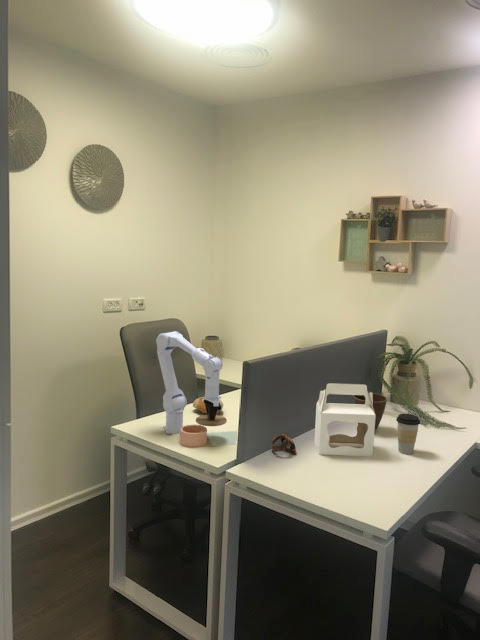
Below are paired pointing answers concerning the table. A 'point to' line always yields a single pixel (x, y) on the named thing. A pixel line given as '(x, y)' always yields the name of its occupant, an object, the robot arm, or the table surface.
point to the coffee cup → (407, 432)
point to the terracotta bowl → (193, 435)
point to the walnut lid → (206, 420)
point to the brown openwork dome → (283, 443)
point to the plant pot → (374, 405)
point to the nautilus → (201, 406)
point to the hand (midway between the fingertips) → (211, 417)
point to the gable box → (345, 413)
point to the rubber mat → (222, 438)
